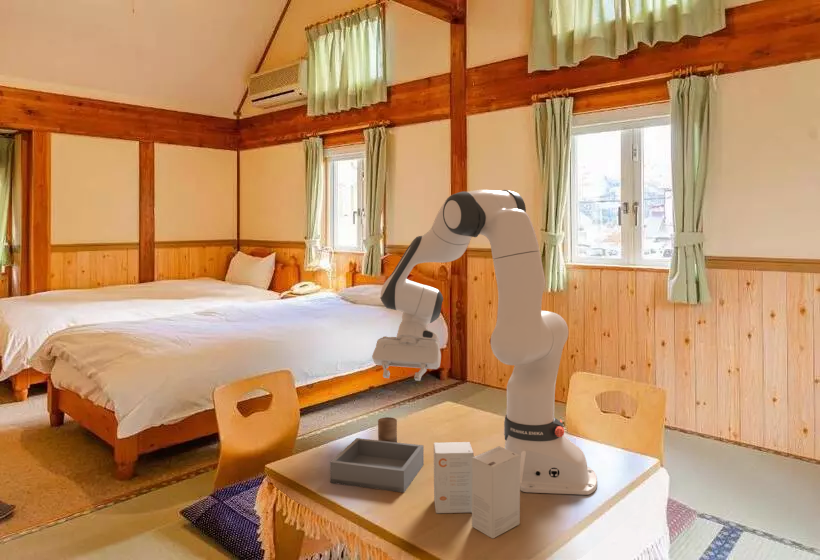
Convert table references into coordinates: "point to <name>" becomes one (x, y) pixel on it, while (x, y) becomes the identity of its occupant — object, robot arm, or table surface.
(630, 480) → the table surface
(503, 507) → the skincare box
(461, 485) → the small box
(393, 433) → the walnut cylinder
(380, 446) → the tote
